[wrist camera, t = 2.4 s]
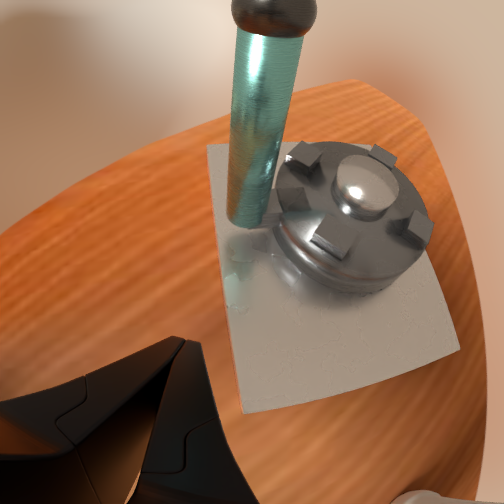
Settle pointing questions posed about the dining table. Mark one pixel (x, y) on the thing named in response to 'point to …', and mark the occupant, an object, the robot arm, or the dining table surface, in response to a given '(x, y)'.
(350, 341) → the base plate
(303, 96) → the dining table surface
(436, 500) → the bottle
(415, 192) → the joystick
